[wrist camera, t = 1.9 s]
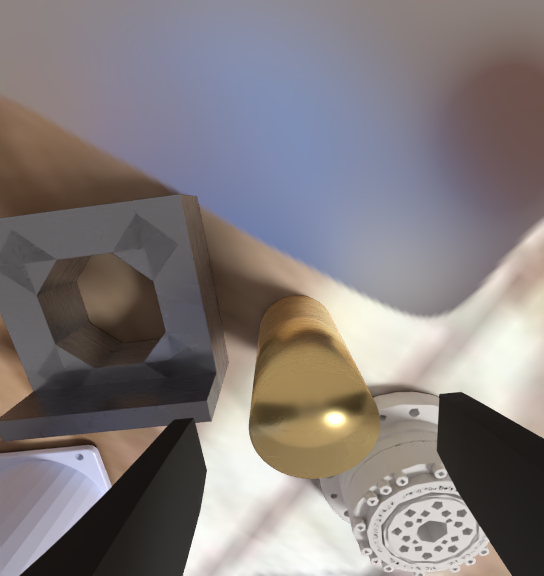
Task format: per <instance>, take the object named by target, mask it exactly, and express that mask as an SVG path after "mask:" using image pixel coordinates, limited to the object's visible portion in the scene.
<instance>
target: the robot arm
mask: <svg viewBox="0 0 544 576" xmlns="http://www.w3.org/2000/svg"><path fill="white" fill-rule="evenodd" d="M437 453H438V455H439V457H440V459H441V461H442V463H443V465H444V467H445V469H446V471H447V473H448V475H449V477H450V478H451V480H452V482H453V484H454V486H455V488H456V490H457V491H458V493H459V495H460V496H461V498H462V499H463V501H464V503H465V504H466V506H467V507H468V509H469V510H470V512H471V513H472V515H473V516H474V518H475V520H476V521H477V523H478V524H479V526H480V527H481V529H482V530H483V532H484V533H485V535H486V537H487V538H488V540H489V541H490V543H491V544H492V546H493V547H494V549H495V550H496V552H497V553H498V555H499V556H500V558H501V560H502V561H503V563H504V564H505V566H506V567H507V569H508V570H509V572H510V573H511V575H512V576H544V439H543V438H542V437H540V436H538V435H536V434H534V433H533V432H531V431H529V430H527V429H526V428H524V427H522V426H521V425H519V424H517V423H515V422H514V421H512V420H510V419H508V418H507V417H505V416H503V415H501V414H500V413H498V412H496V411H495V410H493V409H491V408H489V407H488V406H486V405H484V404H482V403H481V402H479V401H477V400H475V399H473V398H472V397H470V396H468V395H466V394H464V393H462V392H457V393H446V394H439V412H438V432H437ZM206 472H207V469H206V465H205V461H204V457H203V453H202V449H201V445H200V441H199V437H198V433H197V429H196V425H195V420H194V418H184V419H174V420H173V421H172V422H171V423H170V424H169V425H168V426H167V427H166V428H165V430H164V431H163V432H162V433H161V434H160V435H159V436H158V437H157V438H156V439H155V441H154V442H153V443H152V444H151V445H150V446H149V447H148V448H147V449H146V450H145V452H144V453H143V454H142V455H141V456H140V457H139V458H138V459H137V460H136V461H135V462H134V464H133V465H132V466H131V467H130V468H129V469H128V470H127V471H126V472H125V473H124V474H123V475H122V476H121V478H120V479H119V480H118V481H117V482H116V483H115V484H114V485H113V486H111V483H110V480H109V478H108V475H107V472H106V470H105V467H104V464H103V462H102V459H101V456H100V454H99V451H98V449H97V448H96V447H95V446H93V445H83V446H73V447H62V448H52V449H41V450H31V451H21V452H10V453H0V576H183V573H184V569H185V565H186V562H187V558H188V554H189V551H190V547H191V543H192V540H193V536H194V532H195V528H196V525H197V521H198V517H199V513H200V509H201V503H202V497H203V492H204V485H205V479H206Z"/></svg>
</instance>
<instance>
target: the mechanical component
mask: <svg viewBox="0 0 544 576" xmlns="http://www.w3.org/2000/svg"><path fill="white" fill-rule="evenodd" d="M373 399H374V401H375V403H376V405H377V408H378V411H379V415H380V431H379V436H378V438H377V441H376V443H375V445H374V447H373V449H372V450H371V451H370V453H369V454H368V455H367V456H366V457H365V458H364V459H363V460H362V461H361V462H360V463H359V464H357V465H356V466H354V467H353V468H351V469H349V470H347V471H345V472H343V473H341V474H338V475H335V476H331V477H326V478H320V485H321V489H322V492H323V494H324V497H325V499H326V501H327V502H328V504H329V505H330V507H331V508H332V510H333V511H334V512H335V513H336V514H338V515H339V516H340V517H341V518H342V519H343V520H345V521H346V522H348V523H350V524H351V526H352V531H353V534H354V536H355V538H356V540H357V542H358V544H359V547H360V550H361V553H362V554H363V555H369V557H370V561H371V564H373V565H379V564H380V563H381V564H382V567H383V570H384V571H385V572H391V571H393V570H394V568H396V569H399V570H404V571H410V572H414V575H415V576H425V575H426V573H425V572H433V571H441V570H447V569H449V571H451V572H457V571H459V570H460V566H459V565H461V564H463V563H465V564H466V565H468V566H469V565H472V564H475V562H476V559H475V558H474V557H475V556H476V555H477V554H479V555H481V556H485V555H487V554H489V551H490V550H489V549H488V547H487V544H488V542H490V541H489V540H488V538H487V537H486V535H485V533H484V532H483V530H482V529H481V527H480V526H479V524H478V523H477V521H476V520H475V518H474V516H473V515H472V513H471V512H470V510H469V509H468V507H467V506H466V504H465V503H464V501H463V499H462V498H461V496H460V495H459V493H458V491H457V490H456V488H455V486H454V484H453V482H452V480H451V478H450V477H449V475H448V473H447V471H446V469H445V467H444V465H443V463H442V461H441V459H440V457H439V455H438V453H437V432H438V412H439V397H436V396H434V395H430V394H425V393H419V392H394V393H389V394H384V395H379V396H376V397H373Z"/></svg>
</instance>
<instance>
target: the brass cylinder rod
mask: <svg viewBox="0 0 544 576" xmlns="http://www.w3.org/2000/svg"><path fill="white" fill-rule="evenodd" d="M379 431H380V415H379V411H378V408H377V405H376V403H375V401H374V399H373V397H372V395H371V393H370V391H369V389H368V387H367V385H366V383H365V382H364V380H363V378H362V376H361V374H360V372H359V370H358V368H357V366H356V364H355V362H354V360H353V358H352V356H351V354H350V352H349V351H348V349H347V347H346V345H345V343H344V341H343V339H342V337H341V335H340V333H339V331H338V329H337V327H336V325H335V323H334V321H333V320H332V318H331V316H330V314H329V312H328V311H327V309H326V308H325V307H324V306H323V305H322V304H321V303H319V302H318V301H316V300H314V299H312V298H310V297H306V296H289V297H285V298H282V299H280V300H278V301H276V302H275V303H273V304H272V305H271V306H270V307H269V308H268V309H267V310H266V312H265V313H264V315H263V317H262V320H261V324H260V331H259V339H258V348H257V357H256V366H255V375H254V383H253V392H252V401H251V410H250V419H249V435H250V439H251V442H252V444H253V447H254V449H255V450H256V452H257V453H258V455H259V456H260V457H261V458H262V459H263V460H264V461H265V462H266V463H267V464H268V465H270V466H271V467H273V468H274V469H276V470H278V471H280V472H282V473H284V474H287V475H290V476H294V477H298V478H307V479H318V478H326V477H331V476H335V475H338V474H341V473H343V472H345V471H347V470H349V469H351V468H353V467H354V466H356V465H357V464H359V463H360V462H361V461H362V460H363V459H364V458H365V457H366V456H367V455H368V454H369V453H370V451H371V450H372V449H373V447H374V445H375V443H376V441H377V438H378V436H379Z"/></svg>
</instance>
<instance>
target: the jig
mask: <svg viewBox="0 0 544 576" xmlns="http://www.w3.org/2000/svg"><path fill="white" fill-rule="evenodd" d="M105 253H113V254H114V255H116V256H117V257H119V258H120V259H122V260H123V261H125V262H126V263H127V264H129V265H130V266H132V267H133V268H135V269H136V270H137V271H139V272H140V273H142V274H143V275H145V276H146V277H148V278H149V279H150V280H152V281H153V282H154V286H155V290H156V294H157V298H158V302H159V306H160V310H161V314H162V318H163V322H164V326H165V330H166V333H165V334H164V335H163V337H162V338H161V339H155V340H146V341H137V342H128V343H121V342H119V341H118V340H116V339H115V338H113V337H112V336H110V335H108V334H107V333H105V332H104V331H102V330H101V329H99V328H97V327H96V326H94V325H93V324H91V323H90V322H89V319H88V316H87V313H86V310H85V307H84V304H83V301H82V298H81V295H80V292H79V289H78V286H77V283H76V280H77V278H78V276H79V275H80V273H81V271H82V270H83V268H84V266H85V265H86V263H87V261H88V260H89V258H90V256H91V255H97V254H105ZM0 313H1V316H2V318H3V320H4V323H5V325H6V328H7V330H8V332H9V335H10V337H11V339H12V342H13V344H14V346H15V349H16V351H17V354H18V356H19V358H20V361H21V363H22V365H23V368H24V370H25V372H26V375H27V377H28V379H29V382H30V384H31V387H32V389H33V391H34V392H32V393H31V394H30V395H29V396H27V397H26V398H25V399H23V400H22V401H21V402H19V403H18V404H17V405H16V406H14V407H13V408H12V409H10V410H9V411H8V412H6V413H5V414H4V415H3V416H1V417H0V436H1V438H2V440H3V442H4V441H14V440H24V439H34V438H45V437H55V436H65V435H75V434H86V433H96V432H106V431H116V430H127V429H137V428H147V427H157V426H168V425H169V424H170V423H171V422H172V421H173V420H174V419H184V418H194V420H195V423H199V422H209V421H212V418H213V414H214V411H215V407H216V404H217V401H218V397H219V394H220V390H221V387H222V383H223V380H224V377H225V373H226V370H227V366H228V363H229V362H228V356H227V351H226V346H225V341H224V335H223V330H222V325H221V320H220V314H219V309H218V304H217V298H216V293H215V288H214V283H213V277H212V272H211V267H210V262H209V256H208V251H207V246H206V240H205V235H204V230H203V225H202V219H201V214H200V209H199V204H198V198H197V196H190V195H182V194H178V195H171V196H163V197H156V198H148V199H141V200H133V201H126V202H118V203H111V204H103V205H96V206H88V207H81V208H73V209H66V210H58V211H51V212H44V213H36V214H29V215H21V216H14V217H6V218H0Z"/></svg>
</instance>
